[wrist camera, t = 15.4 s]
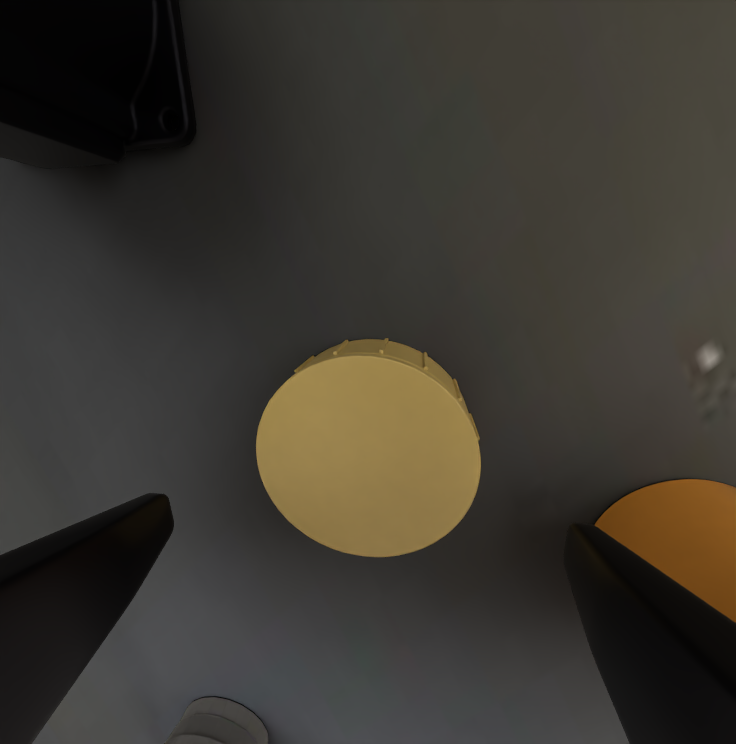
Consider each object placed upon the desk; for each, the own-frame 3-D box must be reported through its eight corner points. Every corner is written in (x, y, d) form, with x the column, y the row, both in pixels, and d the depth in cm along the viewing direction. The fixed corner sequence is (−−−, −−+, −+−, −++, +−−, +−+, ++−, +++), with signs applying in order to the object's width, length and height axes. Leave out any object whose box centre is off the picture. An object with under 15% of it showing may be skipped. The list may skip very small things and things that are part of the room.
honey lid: (427, 535, 13) (428, 587, 11) (264, 472, 13) (235, 512, 11) (504, 379, 11) (525, 407, 9) (310, 309, 11) (284, 319, 9)
